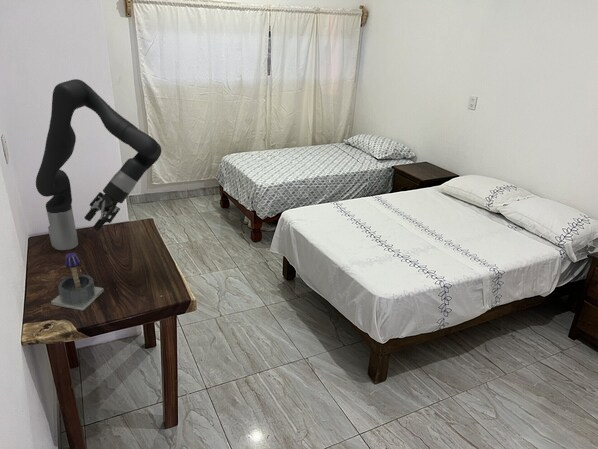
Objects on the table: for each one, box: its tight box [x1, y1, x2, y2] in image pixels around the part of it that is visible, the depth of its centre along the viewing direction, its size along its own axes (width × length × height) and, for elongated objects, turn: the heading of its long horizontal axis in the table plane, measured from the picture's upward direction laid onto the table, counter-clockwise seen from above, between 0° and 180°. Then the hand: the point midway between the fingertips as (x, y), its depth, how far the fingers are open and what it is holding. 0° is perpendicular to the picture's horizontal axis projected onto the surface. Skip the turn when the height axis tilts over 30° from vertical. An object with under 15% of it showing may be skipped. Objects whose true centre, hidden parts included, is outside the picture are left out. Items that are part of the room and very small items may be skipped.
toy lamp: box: [64, 252, 81, 290], centre depth 148 cm, size 5×5×17 cm
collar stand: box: [50, 273, 105, 311], centre depth 151 cm, size 12×12×6 cm
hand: (91, 224), depth 146 cm, fingers open, 8 cm apart
